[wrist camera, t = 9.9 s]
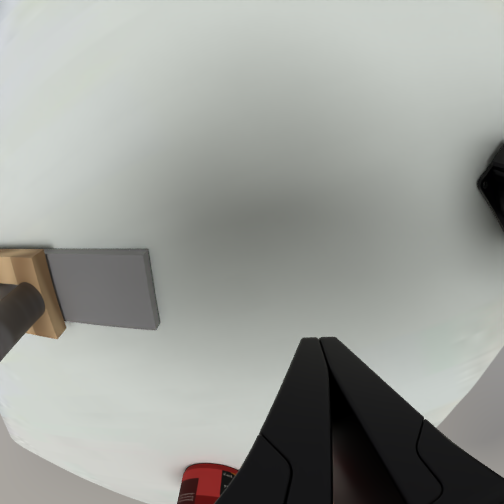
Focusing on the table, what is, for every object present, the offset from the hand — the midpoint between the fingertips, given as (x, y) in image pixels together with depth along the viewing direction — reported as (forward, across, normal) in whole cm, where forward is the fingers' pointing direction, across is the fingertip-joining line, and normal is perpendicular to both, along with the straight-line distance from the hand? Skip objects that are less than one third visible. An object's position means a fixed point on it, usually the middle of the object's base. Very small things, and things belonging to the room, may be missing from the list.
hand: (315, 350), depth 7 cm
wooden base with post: (+12, +22, +6) cm, 26 cm away
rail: (+13, +17, +6) cm, 22 cm away
